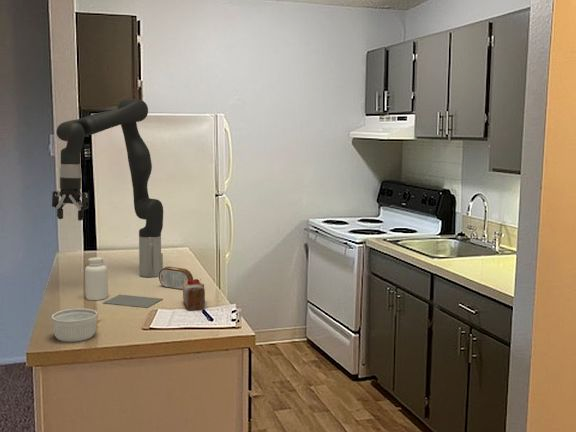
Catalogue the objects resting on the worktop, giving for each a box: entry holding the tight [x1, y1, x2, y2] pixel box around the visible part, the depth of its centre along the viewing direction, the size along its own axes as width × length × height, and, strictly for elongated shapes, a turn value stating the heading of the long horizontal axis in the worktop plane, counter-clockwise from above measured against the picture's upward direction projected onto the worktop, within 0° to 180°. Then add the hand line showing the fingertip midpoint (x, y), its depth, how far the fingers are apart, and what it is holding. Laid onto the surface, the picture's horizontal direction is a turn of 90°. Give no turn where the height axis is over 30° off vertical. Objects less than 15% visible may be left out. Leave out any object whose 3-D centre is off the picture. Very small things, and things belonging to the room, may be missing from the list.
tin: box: [158, 266, 194, 291], centre depth 251 cm, size 15×3×8 cm, turn 65°
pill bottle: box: [84, 256, 109, 301], centre depth 235 cm, size 8×8×15 cm
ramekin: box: [51, 307, 98, 343], centre depth 192 cm, size 13×13×7 cm
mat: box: [102, 294, 163, 309], centre depth 232 cm, size 18×12×1 cm, turn 75°
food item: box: [182, 278, 206, 312], centre depth 227 cm, size 14×8×10 cm, turn 17°
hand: (70, 219), depth 237 cm, fingers open, 8 cm apart
